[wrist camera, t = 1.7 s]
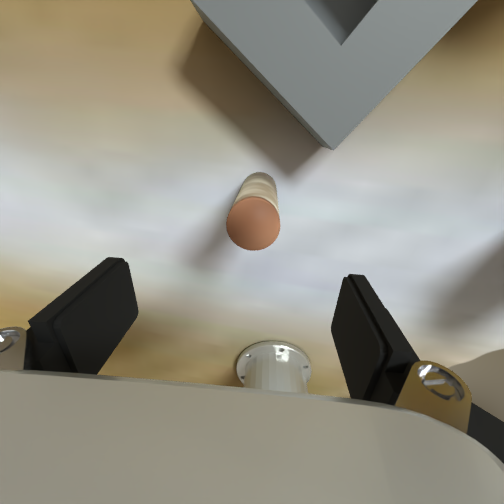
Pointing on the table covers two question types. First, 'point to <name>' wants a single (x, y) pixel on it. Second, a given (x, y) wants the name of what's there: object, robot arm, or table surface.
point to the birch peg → (255, 213)
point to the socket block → (330, 51)
